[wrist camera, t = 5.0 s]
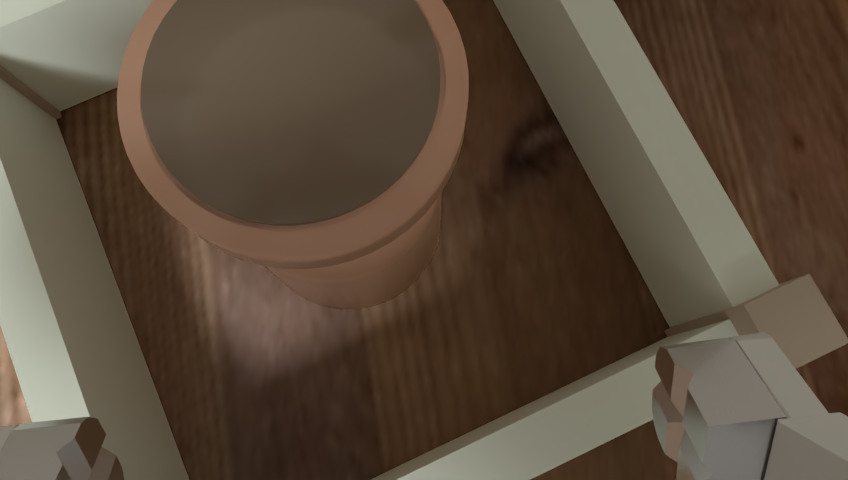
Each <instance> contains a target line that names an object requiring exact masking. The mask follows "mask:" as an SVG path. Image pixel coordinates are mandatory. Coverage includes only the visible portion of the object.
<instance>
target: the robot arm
mask: <svg viewBox="0 0 848 480" xmlns="http://www.w3.org/2000/svg"><path fill="white" fill-rule="evenodd" d="M655 369H656V371H657V373H658V375H659V377H660V379H661V381H660V382H659V384H658V385H657V386H656V387H655V388H654V389H653V393H652V413H653V420H654V426H655V430H656V433H657V436H658V440H659V442H660V444H661V447H662V449H663V451H664V454H665V455H667V456H668V457H670V458H671V459H673V460H674V461H676V462H677V463H678V465H677V474H676V480H848V416H846V415H844V414H842V413H840V412H838V413H828V411H827V410H826V409H825V407H824V406H823V405H822V403H821V402H820V401H819V399H818V398H817V397H816V395H815V394H814V393H813V391H812V390H811V389H810V387H809V386H808V385H807V383H806V382H805V381H804V379H803V378H802V377H801V375H800V374H799V373H798V371H797V370H796V369H795V367H794V366H793V365H792V363H791V362H790V361H789V359H788V358H787V357H786V355H785V354H784V353H783V351H782V350H781V349H780V347H779V346H778V345H777V343H776V342H775V341H774V339H773V338H772V337H771V336H770V335H768V334H767V333H765V332H761V333H754V334H747V335H740V336H732V337H729V338H720V339H712V340H705V341H697V342H689V343H682V344H674V345H666V346H660V347H659V349H658V351H657V353H656V361H655ZM105 437H106V433H105V431H104V429H103V428H102V426H101V424H100V422H99V420H98V419H97V418H92V417H81V418H71V419H61V420H50V421H40V422H30V423H22V424H19V425H8V426H0V480H125V479H124V474H123V469H122V466H121V464H120V462H119V460H118V458H117V456H116V455H115V454H113V453H111V452H110V451H108V450H106V449H105V448H103V447H102V444H103V442H104V439H105Z"/></svg>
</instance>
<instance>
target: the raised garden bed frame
mask: <svg viewBox="0 0 848 480" xmlns="http://www.w3.org/2000/svg"><path fill="white" fill-rule="evenodd" d="M152 1H153V0H0V325H1V328H2V331H3V334H4V337H5V340H6V343H7V346H8V349H9V353H10V356H11V359H12V362H13V365H14V368H15V371H16V374H17V377H18V380H19V383H20V386H21V389H22V392H23V395H24V398H25V401H26V404H27V407H28V410H29V413H30V417H31V420H32V422H40V421H50V420H61V419H71V418H81V417H92V418H97V419H98V420H99V422H100V424H101V426H102V428H103V429H104V431H105V433H106V437H105V439H104V442H103V444H102V447H103V448H105V449H106V450H108V451H110V452H111V453H113V454H115V455H116V456H117V458H118V460H119V462H120V464H121V466H122V469H123V474H124V479H125V480H189V477H188V475H187V472H186V469H185V467H184V464H183V461H182V458H181V456H180V453H179V450H178V448H177V445H176V442H175V440H174V437H173V434H172V431H171V429H170V426H169V423H168V421H167V418H166V415H165V412H164V410H163V407H162V404H161V402H160V399H159V396H158V394H157V391H156V388H155V385H154V383H153V380H152V377H151V375H150V372H149V369H148V367H147V364H146V361H145V358H144V356H143V353H142V350H141V348H140V345H139V342H138V339H137V337H136V334H135V331H134V329H133V326H132V323H131V321H130V318H129V315H128V312H127V310H126V307H125V304H124V302H123V299H122V296H121V294H120V291H119V288H118V285H117V283H116V280H115V277H114V275H113V272H112V269H111V266H110V264H109V261H108V258H107V256H106V253H105V250H104V248H103V245H102V242H101V239H100V237H99V234H98V231H97V229H96V226H95V223H94V221H93V218H92V215H91V212H90V210H89V207H88V204H87V202H86V199H85V196H84V193H83V191H82V188H81V185H80V183H79V180H78V177H77V175H76V172H75V169H74V166H73V164H72V161H71V158H70V156H69V153H68V150H67V148H66V145H65V142H64V139H63V137H62V134H61V131H60V129H59V126H58V123H57V121H56V119H58V118H61V117H62V115H61V112H60V111H62V110H65V109H67V108H70V107H72V106H74V105H77V104H79V103H81V102H84V101H86V100H89V99H91V98H93V97H96V96H98V95H100V94H103V93H105V92H108V91H110V90H112V89H115V88H117V87H118V80H119V72H120V68H121V64H122V61H123V57H124V53H125V50H126V48H127V45H128V43H129V40H130V38H131V35H132V33H133V31H134V29H135V27H136V26H137V24H138V22H139V20H140V19H141V17H142V15H143V14H144V12H145V11H146V9H147V8H148V7H149V5H150V4H151V3H152ZM493 1H494V3H495V5H496V7H497V9H498V10H499V12H500V14H501V16H502V18H503V20H504V22H505V23H506V25H507V27H508V29H509V31H510V33H511V35H512V36H513V38H514V40H515V42H516V44H517V46H518V47H519V49H520V51H521V53H522V55H523V57H524V59H525V60H526V62H527V64H528V66H529V68H530V70H531V72H532V73H533V75H534V77H535V79H536V81H537V83H538V85H539V86H540V88H541V90H542V92H543V94H544V96H545V97H546V99H547V101H548V103H549V105H550V107H551V109H552V110H553V112H554V114H555V116H556V118H557V120H558V122H559V123H560V125H561V127H562V129H563V131H564V133H565V135H566V136H567V138H568V140H569V142H570V144H571V146H572V148H573V149H574V151H575V153H576V155H577V157H578V159H579V160H580V162H581V164H582V166H583V168H584V170H585V172H586V173H587V175H588V177H589V179H590V181H591V183H592V185H593V186H594V188H595V190H596V192H597V194H598V196H599V198H600V199H601V201H602V203H603V205H604V207H605V209H606V210H607V212H608V214H609V216H610V218H611V220H612V222H613V223H614V225H615V227H616V229H617V231H618V233H619V235H620V236H621V238H622V240H623V242H624V244H625V246H626V248H627V249H628V251H629V253H630V255H631V257H632V259H633V261H634V262H635V264H636V266H637V268H638V270H639V272H640V273H641V275H642V277H643V279H644V281H645V283H646V285H647V286H648V288H649V290H650V292H651V294H652V296H653V298H654V299H655V301H656V303H657V305H658V307H659V309H660V311H661V312H662V314H663V316H664V318H665V320H666V322H667V323H668V325H669V327H670V328H668V329H666V330H664V332H665V334H666V336H667V337H666V338H664V339H662V340H660V341H658V342H655V343H653V344H651V345H649V346H647V347H645V348H643V349H641V350H639V351H637V352H635V353H633V354H630V355H628V356H626V357H624V358H622V359H620V360H618V361H616V362H614V363H612V364H610V365H608V366H606V367H603V368H601V369H599V370H597V371H595V372H593V373H591V374H589V375H587V376H585V377H583V378H581V379H578V380H576V381H574V382H572V383H570V384H568V385H566V386H564V387H562V388H560V389H558V390H556V391H554V392H551V393H549V394H547V395H545V396H543V397H541V398H539V399H537V400H535V401H533V402H531V403H529V404H526V405H524V406H522V407H520V408H518V409H516V410H514V411H512V412H510V413H508V414H506V415H504V416H501V417H499V418H497V419H495V420H493V421H491V422H489V423H487V424H485V425H483V426H481V427H479V428H477V429H474V430H472V431H470V432H468V433H466V434H464V435H462V436H460V437H458V438H456V439H454V440H452V441H449V442H447V443H445V444H443V445H441V446H439V447H437V448H435V449H433V450H431V451H429V452H427V453H424V454H422V455H420V456H418V457H416V458H414V459H412V460H410V461H408V462H406V463H404V464H402V465H400V466H397V467H395V468H393V469H391V470H389V471H387V472H385V473H383V474H381V475H379V476H377V477H375V478H372V479H370V480H531V479H533V478H535V477H537V476H539V475H541V474H543V473H545V472H547V471H549V470H551V469H553V468H555V467H557V466H559V465H561V464H563V463H565V462H567V461H569V460H571V459H573V458H575V457H578V456H580V455H582V454H584V453H586V452H588V451H590V450H592V449H594V448H596V447H598V446H600V445H602V444H604V443H606V442H608V441H610V440H612V439H614V438H616V437H618V436H620V435H622V434H624V433H627V432H629V431H631V430H633V429H635V428H637V427H639V426H641V425H643V424H645V423H647V422H649V421H651V420H653V413H652V393H653V389H654V388H655V387H656V386H657V385H658V384H659V382H660V381H661V379H660V377H659V375H658V373H657V371H656V369H655V361H656V353H657V351H658V349H659V347H660V346H666V345H674V344H682V343H689V342H697V341H705V340H712V339H720V338H729V337H732V336H740V335H747V334H754V333H761V332H765V333H767V334H768V335H770V336H771V337H772V338H773V339H774V341H775V342H776V343H777V345H778V346H779V347H780V349H781V350H782V351H783V353H784V354H785V355H786V357H787V358H788V359H789V361H790V362H791V363H792V365H793V366H794V367H795V369H797V368H799V367H801V366H803V365H805V364H807V363H809V362H811V361H813V360H815V359H817V358H819V357H821V356H823V355H825V354H827V353H829V352H831V351H833V350H835V349H837V348H839V347H841V346H844V345H846V344H848V337H847V336H846V334H845V332H844V331H843V329H842V327H841V326H840V324H839V322H838V321H837V319H836V317H835V316H834V314H833V312H832V311H831V309H830V307H829V305H828V304H827V302H826V300H825V299H824V297H823V295H822V294H821V292H820V290H819V289H818V287H817V285H816V284H815V282H814V280H813V279H812V277H811V275H810V274H807V275H804V276H801V277H798V278H795V279H792V280H789V281H786V282H783V283H781V284H779V283H778V282H777V280H776V278H775V276H774V275H773V273H772V271H771V270H770V268H769V266H768V264H767V263H766V261H765V259H764V258H763V256H762V254H761V252H760V251H759V249H758V247H757V246H756V244H755V242H754V240H753V239H752V237H751V235H750V233H749V232H748V230H747V228H746V227H745V225H744V223H743V221H742V220H741V218H740V216H739V215H738V213H737V211H736V209H735V208H734V206H733V204H732V203H731V201H730V199H729V197H728V196H727V194H726V192H725V191H724V189H723V187H722V185H721V184H720V182H719V180H718V179H717V177H716V175H715V173H714V172H713V170H712V168H711V167H710V165H709V163H708V161H707V160H706V158H705V156H704V155H703V153H702V151H701V149H700V148H699V146H698V144H697V143H696V141H695V139H694V137H693V136H692V134H691V132H690V130H689V129H688V127H687V125H686V124H685V122H684V120H683V118H682V117H681V115H680V113H679V112H678V110H677V108H676V106H675V105H674V103H673V101H672V100H671V98H670V96H669V94H668V93H667V91H666V89H665V88H664V86H663V84H662V82H661V81H660V79H659V77H658V76H657V74H656V72H655V70H654V69H653V67H652V65H651V64H650V62H649V60H648V58H647V57H646V55H645V53H644V52H643V50H642V48H641V46H640V45H639V43H638V41H637V39H636V38H635V36H634V34H633V33H632V31H631V29H630V27H629V26H628V24H627V22H626V21H625V19H624V17H623V15H622V14H621V12H620V10H619V9H618V7H617V5H616V3H615V2H614V0H493Z"/></svg>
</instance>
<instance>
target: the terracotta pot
mask: <svg viewBox="0 0 848 480" xmlns="http://www.w3.org/2000/svg"><path fill="white" fill-rule="evenodd" d="M468 96H469V72H468V66H467V59H466V52H465V49H464V45H463V42H462V39H461V36H460V32H459V30H458V28H457V26H456V24H455V21H454V19H453V17H452V15H451V13H450V11H449V10H448V8H447V7H446V5H445V4H444V2H443V0H153V1H152V3H151V4H150V5H149V7H148V8H147V9H146V11H145V12H144V14H143V15H142V17H141V19H140V20H139V22H138V24H137V26H136V27H135V29H134V31H133V33H132V35H131V38H130V40H129V43H128V45H127V48H126V50H125V53H124V57H123V61H122V64H121V68H120V72H119V80H118V89H117V115H118V121H119V127H120V133H121V137H122V141H123V144H124V147H125V150H126V153H127V156H128V158H129V160H130V162H131V164H132V166H133V168H134V170H135V172H136V174H137V176H138V177H139V179H140V180H141V182H142V183H143V185H144V186H145V188H146V189H147V190H148V192H149V193H150V195H151V196H152V197H153V198H154V199H155V200H156V201H157V202H158V203H159V204H160V205H161V206H162V207H163V208H164V210H166V211H167V212H168V213H169V214H171V215H172V216H173V217H174V218H176V219H177V220H178V221H179V222H181V223H182V224H183V225H184V226H186V227H187V228H188V229H190V230H191V231H192V232H194V233H195V234H196V235H197V236H199V237H200V238H201V239H203V240H204V241H205V242H207V243H209V244H210V245H212V246H214V247H216V248H217V249H219V250H221V251H222V252H224V253H227V254H229V255H231V256H234V257H236V258H238V259H241V260H244V261H247V262H251V263H254V264H258V265H262V266H265V267H266V268H267V269H268V270H269V271H271V272H272V273H273V274H274V275H275V276H276V277H277V278H279V279H280V280H281V281H282V282H283V283H284V284H285V285H286V286H288V287H289V288H290V289H291V290H293V291H294V292H295V293H296V294H298V295H300V296H301V297H303V298H305V299H306V300H309V301H311V302H313V303H316V304H318V305H322V306H326V307H329V308H336V309H360V308H367V307H371V306H374V305H378V304H381V303H383V302H386V301H388V300H390V299H392V298H394V297H395V296H397V295H399V294H401V293H402V292H403V291H405V290H406V289H407V288H409V287H410V286H411V285H412V284H413V283H414V282H415V281H416V280H417V279H418V278H419V277H420V275H421V274H422V273H423V272H424V270H425V269H426V267H427V266H428V264H429V262H430V261H431V259H432V257H433V255H434V252H435V250H436V247H437V244H438V240H439V237H440V229H441V214H442V191H443V189H444V188H445V186H446V184H447V183H448V181H449V179H450V177H451V175H452V172H453V170H454V168H455V166H456V163H457V161H458V158H459V154H460V150H461V147H462V143H463V138H464V131H465V124H466V115H467V106H468Z"/></svg>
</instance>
